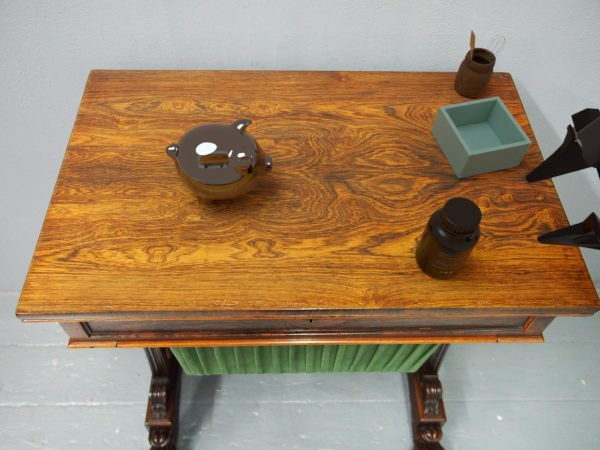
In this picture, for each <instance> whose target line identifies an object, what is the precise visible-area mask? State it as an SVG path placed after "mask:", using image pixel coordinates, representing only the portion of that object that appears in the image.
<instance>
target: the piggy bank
mask: <svg viewBox="0 0 600 450" xmlns="http://www.w3.org/2000/svg"><path fill="white" fill-rule="evenodd" d="M252 123H253V120H252V119H250V118H238V119H235V120H234V121H232V123H223V122H207V123H202V124H198V125H195V126H193V127H191V128H189V129H188V130H187V131H185V132H184V133H183V134H182V135H181V136H180V137H179V139H178V141H177V142H171V143H170V144H168V145H167V146H166V147H165V150H164V152H165V154H166V156H167V157H169V158H170V159H171V160H172V161H173V164H174V168H175V171H176V174H177V176H178V178H179V180H180V181H181V183H182V184H183V186H184V187H185V188H186V189H187V190H188V191H189V192H191V193H192V194H194V195H196V196H197V197H200V201H201V203H202V204H203V205H204V206H207V205H211V204H212V203H214V200H215V201H219V200H229V199H230V200H231V201H232V202H233V203H236V204H240V203H242V202H243V200H244V197H245V195H246V194H247V193H249V192H251V191H252V190H253V189H254V188H255V187H256V186H258V185H259V184H260V183H261V182H262V181H263V179H264V178H265V177H266V176H268V175H269V174H270V173H272V171H273V167H274V166H273V165H274V161H273V157H272V156H271V155H269V154H268V153H267V152H266V151H264V149H263V147H262V146H261V144H260V143H259V141H258V140H257V139H256V138H255V137H254V135H252V133H250V132H248V131H247V128H248V127H249V126H250V125H251V124H252Z"/></svg>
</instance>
